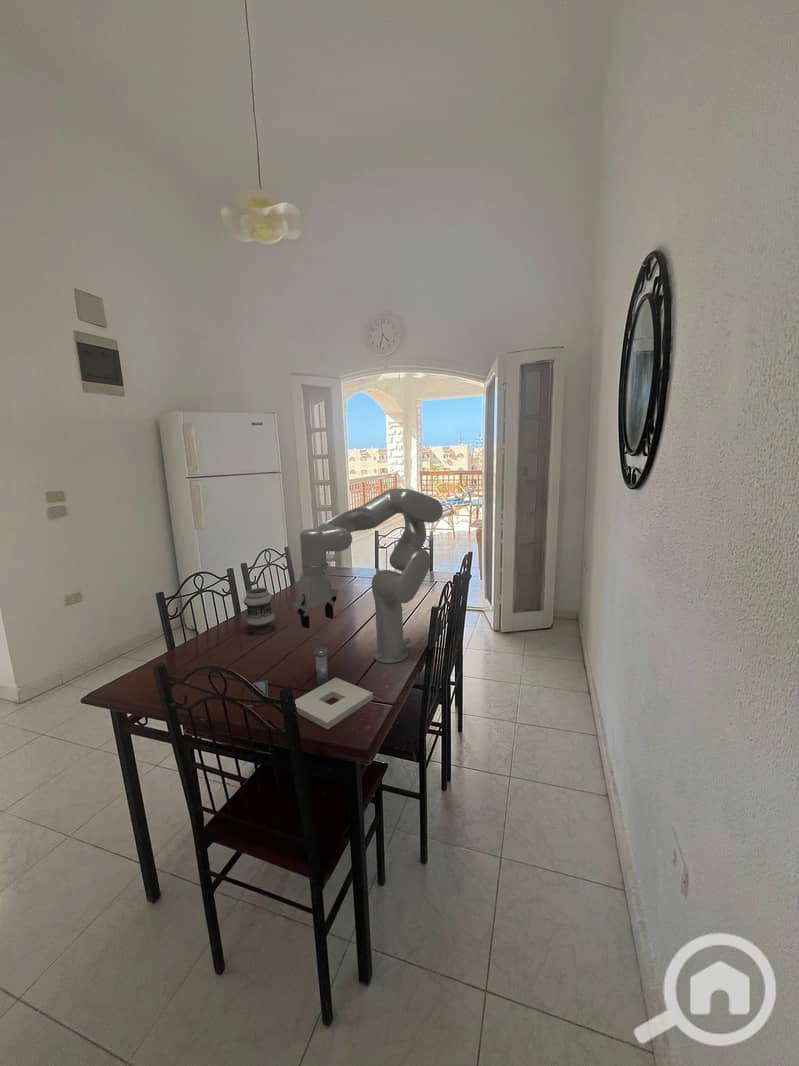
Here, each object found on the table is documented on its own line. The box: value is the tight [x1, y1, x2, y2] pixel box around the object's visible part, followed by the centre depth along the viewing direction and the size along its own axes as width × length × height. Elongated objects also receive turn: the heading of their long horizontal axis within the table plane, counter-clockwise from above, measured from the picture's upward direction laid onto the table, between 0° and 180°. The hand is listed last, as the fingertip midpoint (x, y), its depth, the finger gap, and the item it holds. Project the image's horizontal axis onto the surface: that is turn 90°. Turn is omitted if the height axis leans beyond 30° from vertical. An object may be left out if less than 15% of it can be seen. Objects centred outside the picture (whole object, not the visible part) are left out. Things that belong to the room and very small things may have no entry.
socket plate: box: [294, 677, 374, 730], centre depth 125 cm, size 18×16×2 cm
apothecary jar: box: [243, 587, 276, 636], centre depth 182 cm, size 12×12×18 cm
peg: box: [312, 646, 329, 686], centre depth 137 cm, size 5×5×11 cm
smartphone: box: [248, 679, 269, 708], centre depth 133 cm, size 7×1×15 cm
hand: (317, 622), depth 135 cm, fingers open, 9 cm apart
